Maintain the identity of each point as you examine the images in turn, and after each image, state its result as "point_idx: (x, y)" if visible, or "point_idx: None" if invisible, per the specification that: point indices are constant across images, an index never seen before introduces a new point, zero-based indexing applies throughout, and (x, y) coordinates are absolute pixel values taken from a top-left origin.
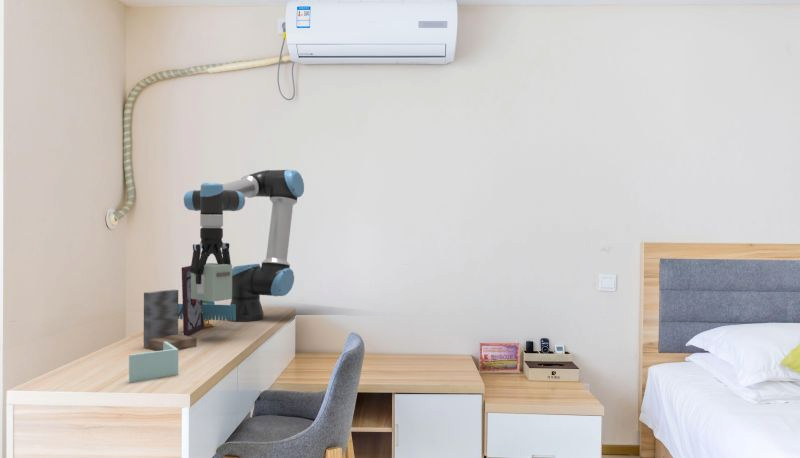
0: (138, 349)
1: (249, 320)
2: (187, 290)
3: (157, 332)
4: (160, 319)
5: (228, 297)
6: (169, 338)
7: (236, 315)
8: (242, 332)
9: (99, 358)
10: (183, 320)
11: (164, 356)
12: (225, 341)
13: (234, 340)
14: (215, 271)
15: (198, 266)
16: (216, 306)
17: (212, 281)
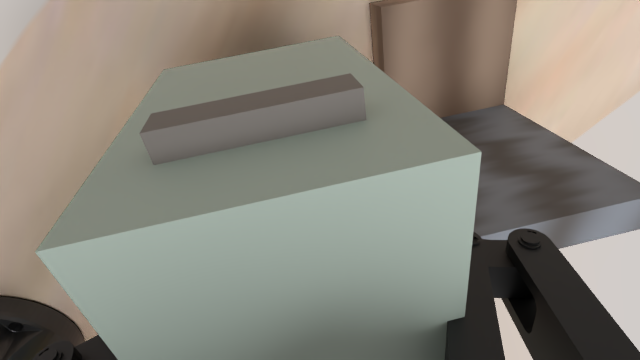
0: (506, 102)
1: (5, 299)
2: None
3: (479, 118)
4: (495, 141)
5: (195, 67)
6: (454, 68)
7: (50, 332)
8: (98, 134)
9: (632, 61)
10: None
11: None
12: (233, 12)
13: (190, 3)
14: (393, 124)
15: (539, 291)
16: None
17: (389, 81)
